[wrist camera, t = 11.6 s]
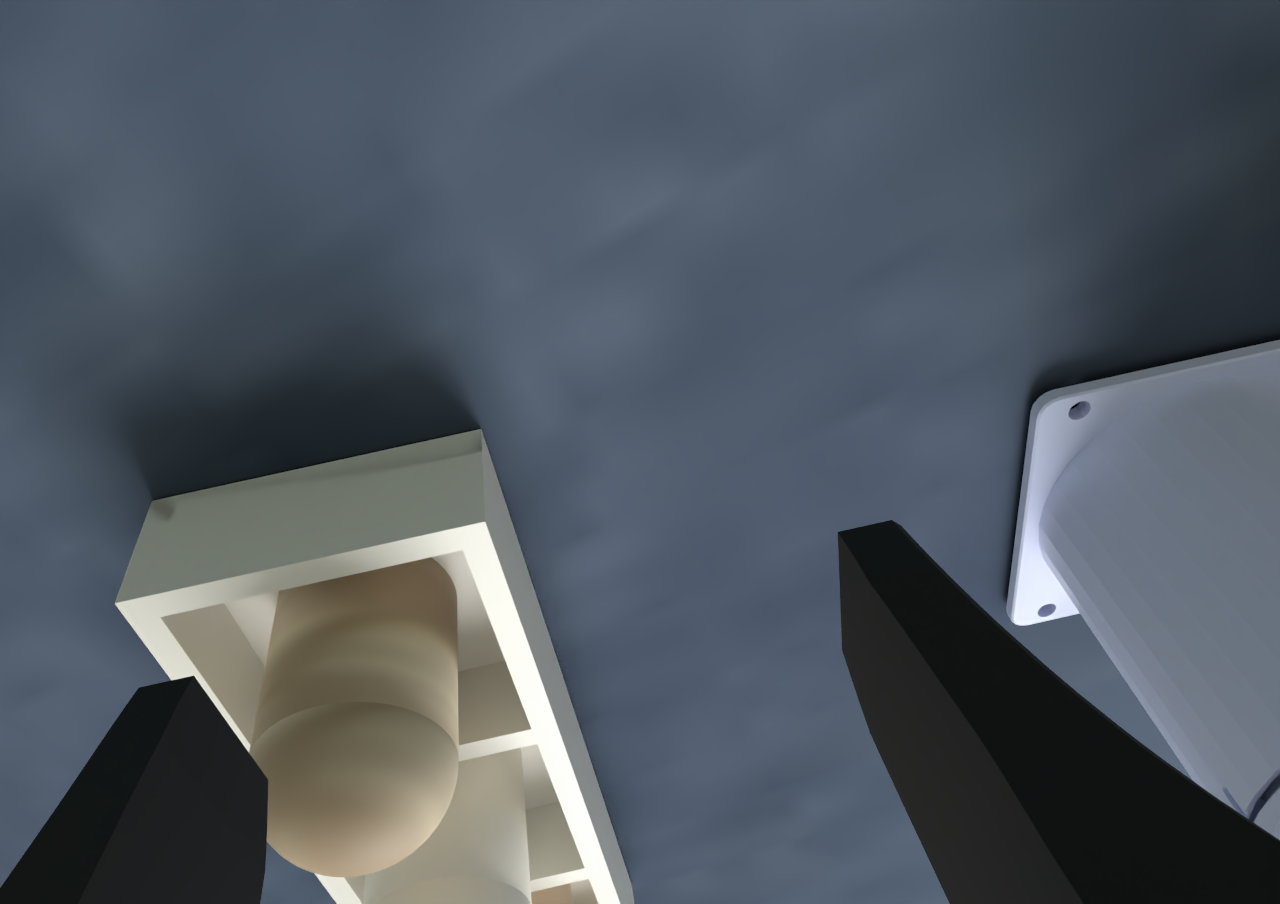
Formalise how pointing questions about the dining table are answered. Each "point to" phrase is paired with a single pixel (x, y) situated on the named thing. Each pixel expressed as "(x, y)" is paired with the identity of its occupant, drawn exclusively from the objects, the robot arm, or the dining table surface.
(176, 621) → the egg carton
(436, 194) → the dining table surface
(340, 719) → the wooden egg
